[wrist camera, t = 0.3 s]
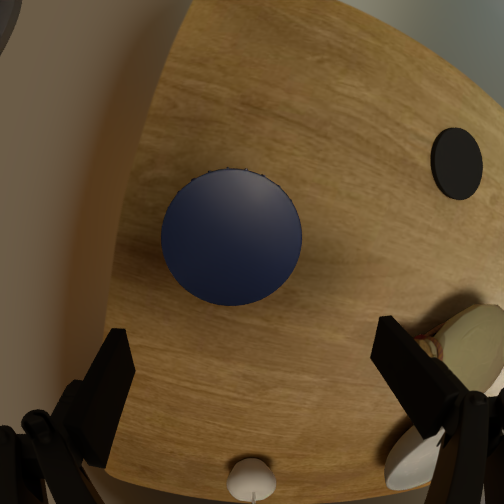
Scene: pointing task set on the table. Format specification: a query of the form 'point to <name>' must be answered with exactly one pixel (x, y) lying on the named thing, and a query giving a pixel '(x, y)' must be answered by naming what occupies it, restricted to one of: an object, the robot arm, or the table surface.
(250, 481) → the apple
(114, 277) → the table surface
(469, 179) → the coaster
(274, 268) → the jar lid
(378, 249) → the table surface
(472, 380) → the flask
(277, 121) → the table surface
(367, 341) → the table surface
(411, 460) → the serving bowl
